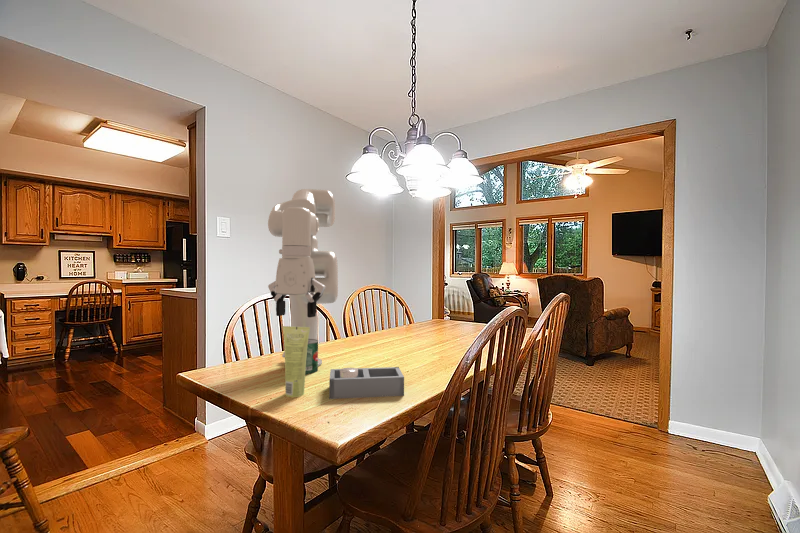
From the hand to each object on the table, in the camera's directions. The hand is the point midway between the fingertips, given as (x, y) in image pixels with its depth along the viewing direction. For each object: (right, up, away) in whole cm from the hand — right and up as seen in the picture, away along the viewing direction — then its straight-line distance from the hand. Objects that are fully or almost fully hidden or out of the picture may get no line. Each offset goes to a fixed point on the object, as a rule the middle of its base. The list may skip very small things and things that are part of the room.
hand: (296, 316), depth 105 cm
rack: (+19, -23, +4) cm, 30 cm away
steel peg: (+14, -22, +3) cm, 26 cm away
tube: (0, -23, +1) cm, 23 cm away
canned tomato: (-3, -23, +24) cm, 33 cm away
